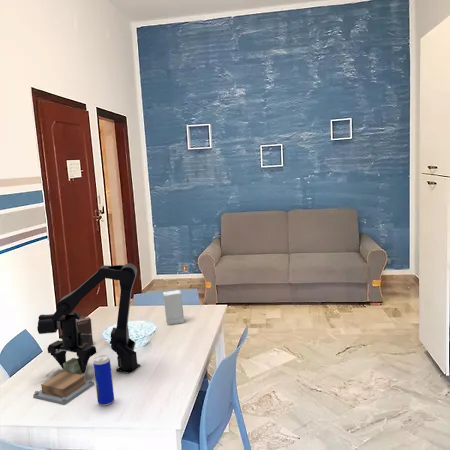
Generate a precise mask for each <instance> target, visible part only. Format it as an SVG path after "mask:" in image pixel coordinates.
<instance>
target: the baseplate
mask: <svg viewBox="0 0 450 450" xmlns="http://www.w3.org/2000/svg"><path fill="white" fill-rule="evenodd" d="M85 382H86V384H84V385H83V386H81V387H80V388H78V389H77V390H75V391H74V392H72V393H71V394H69V395H68V396H66V397H58V396H54V395H49V394H45V393H42V389H40V390H34V393H33V394H32V395H33V398H34V399H38V400H43V401H46V402H51V403H56V404H60V405H63V406H65V405H67V404H68V403H70V402H71V401H73V400H75V398H77V397H79V395H81V394H83V393H84V392H86V391H87V390H89V389H91V387H93V386H94V385H95V381H93V379H89V380H86V379H85Z"/></svg>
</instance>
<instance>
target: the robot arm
mask: <svg viewBox="0 0 450 450" xmlns="http://www.w3.org/2000/svg"><path fill="white" fill-rule="evenodd" d="M137 274H138V268H137V266H136V265H135V264H133V263H131V262H130V263H126V264H124V265H123V264H119V265H118V264H117V265H106V264H104V265H101V266H100V268H99V269H98V270H97V271H96V272H95V273H94V274H92V276H90V277H89V278H88V279H87V280H86V281H85V282H84V283H82V284H81V285H80V286H79V287H78V288H76V289H75V290H73V291H71V292H68V294H66V295H64V296H63V297H62V298H61V299H60V300H59V301H58V302H57V303H56V307H55V309H56V311H55V312H54V313H52V314H40V315H39V316H38V321H37V326H36V327H37V332H38V334H39V335H44V334H46V335H47V334H56V333H57V332H58V330H60V334H59V335H58V337H59V340H56V341H54V342H52V343H50V344H49V345H48V346H47V353H48V354H50V355H51V356H52V357H53V358H54V359H55V361H56V362H57V363H58V364H59V366H60V368H62V370H63V371H64V368H63V363H65V362H66V361H67V356H66V355H67V352H68V353H76V357H77V361H78V363H79V366H80V369H81V372H82V374H81V375H84V374H85V373H86V370H87V367H88V362H89V360H90V358H91V357H93V356H94V355H96V354H97V347H96V346H95V345H86V346H84V347H82V348H79V346H82V345H83V343H90V338H91V334H84V333H81V332H80V331H78V329H77V319H80V318H82V317H83V314H81V313H79V311H74V309H75V308H77V306H78V305H79V303H80V302H81V300H82V299H83V298H85V297H86V296H87V295H89V293H90V292H91V291H93V290H94V289H95V287H97V286H98V285H99V284H100V283H101V282H102V281H104V280H105V279H107V280H114V281H119V289H120V295H119V305H118V313H117V320H116V327H112V329H111V331H110V341H109V345H110V347H111V348H110V349H112V351H113V352H115V353H116V355H117V367H118V368H117V369H116V370H115V371H116V372H120V373H125V374H126V373H127V374H131V373H133V372H135V371H136V370H137V369H138V368H140V366H141V364H139V363H138V358H137V357H138V355H137V351H135V346H136V341H134V340H133V339H131V338H130V331H129V326H128V325H129V315H130V307H131V298H132V292H133V291H132V289H133V287H134V284H135V281H136V278H137ZM73 311H74V313H72V312H73ZM60 339H61V340H60Z"/></svg>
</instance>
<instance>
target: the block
mask: <svg viewBox="0 0 450 450" xmlns="http://www.w3.org/2000/svg"><path fill="white" fill-rule="evenodd" d="M77 358H78V357H77ZM77 358H75V357H72V358H70V359H69V360H66V362H65V363H63V368H64V370H63V371H64V372H69V373H74V374H79V375H83V374H82V372H81V369H80V366H79V363H78V361H77Z"/></svg>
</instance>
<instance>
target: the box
mask: <svg viewBox="0 0 450 450" xmlns="http://www.w3.org/2000/svg"><path fill="white" fill-rule="evenodd" d="M77 329H78V331H80V332H81V333H84V334H91V338H90V343H83V345H82V346H79V348H82V347H84V346H86V345H91V346H94V341H93V340H94V339H93V329H92V319H91V318H90V316H88V315H87V316H84V317H83V316H81V318H80V319H77Z"/></svg>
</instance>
